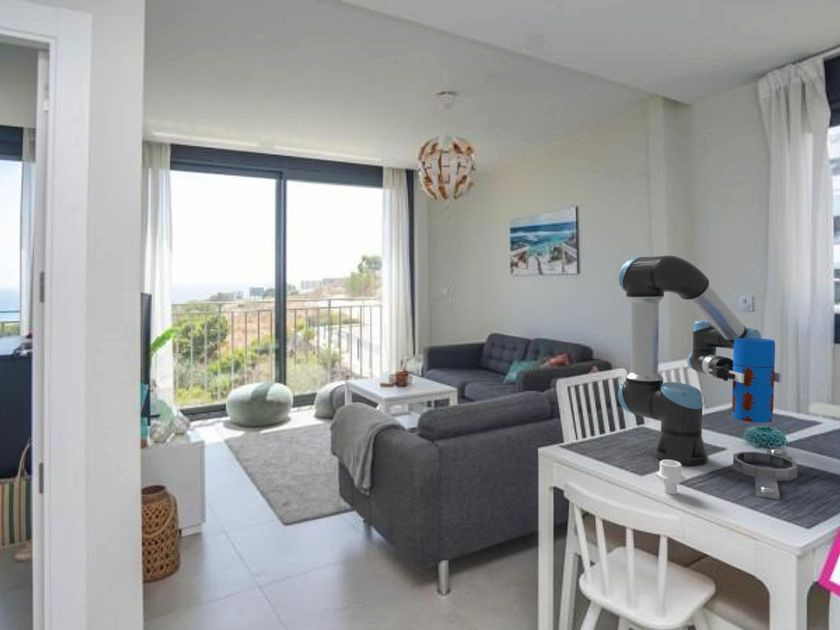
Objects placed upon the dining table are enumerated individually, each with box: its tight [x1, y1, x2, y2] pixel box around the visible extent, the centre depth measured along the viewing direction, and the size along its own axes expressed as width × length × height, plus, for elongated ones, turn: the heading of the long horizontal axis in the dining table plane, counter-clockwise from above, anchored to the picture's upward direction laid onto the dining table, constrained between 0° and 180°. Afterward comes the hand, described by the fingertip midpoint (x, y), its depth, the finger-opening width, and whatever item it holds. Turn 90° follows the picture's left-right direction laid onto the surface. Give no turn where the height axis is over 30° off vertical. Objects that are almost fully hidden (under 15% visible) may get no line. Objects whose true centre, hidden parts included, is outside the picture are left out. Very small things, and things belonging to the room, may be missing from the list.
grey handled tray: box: [732, 448, 798, 501], centre depth 148 cm, size 16×41×3 cm, turn 148°
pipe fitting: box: [655, 460, 686, 495], centre depth 136 cm, size 6×7×8 cm
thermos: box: [731, 338, 776, 424], centre depth 158 cm, size 11×11×25 cm
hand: (761, 378), depth 154 cm, fingers closed on thermos, 11 cm apart
